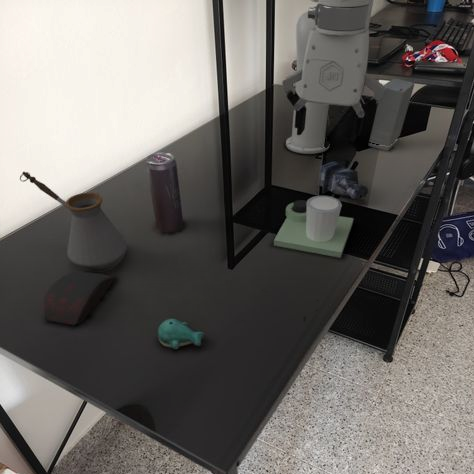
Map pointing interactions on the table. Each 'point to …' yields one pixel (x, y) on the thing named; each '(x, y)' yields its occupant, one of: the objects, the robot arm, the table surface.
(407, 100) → the cosmetic box
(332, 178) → the dark statue fragment
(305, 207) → the button
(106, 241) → the coffee pot
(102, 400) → the table surface
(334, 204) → the grey cup
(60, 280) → the computer mouse
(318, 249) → the scale
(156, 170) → the beverage can
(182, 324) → the whale figurine
